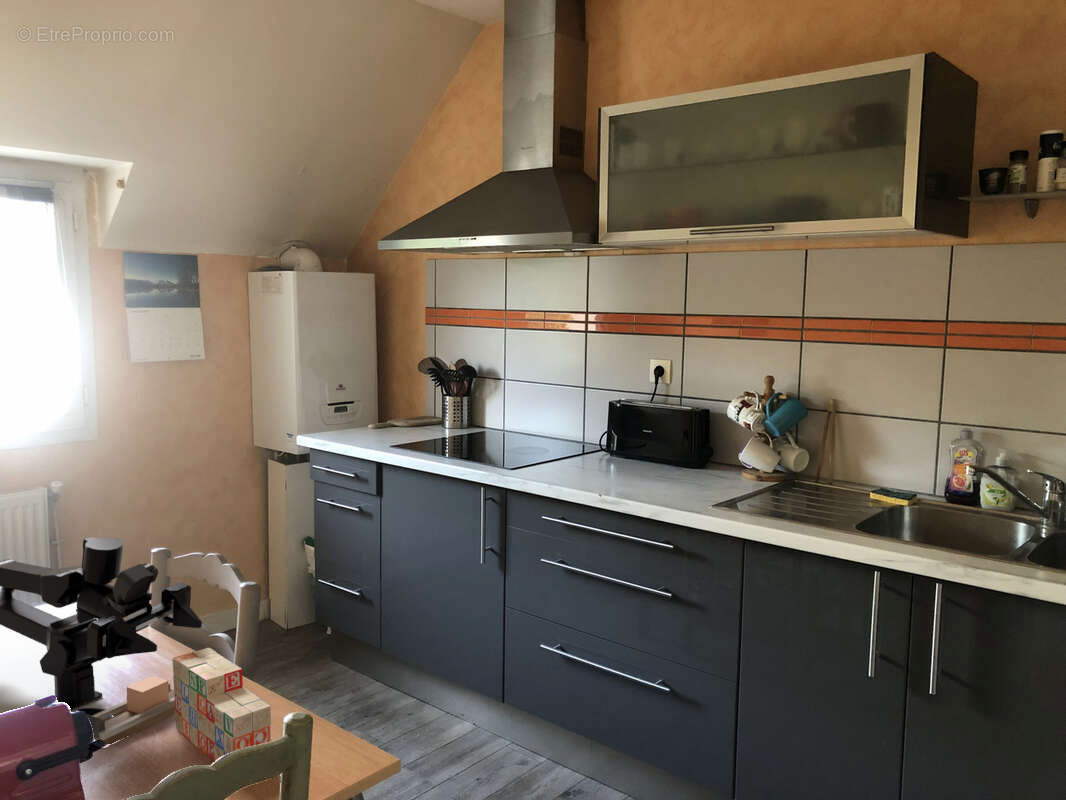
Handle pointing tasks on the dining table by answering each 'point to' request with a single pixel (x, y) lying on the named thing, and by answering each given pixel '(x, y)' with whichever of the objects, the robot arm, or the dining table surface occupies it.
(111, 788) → the dining table surface
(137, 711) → the block
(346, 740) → the dining table surface
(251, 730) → the stack of blocks
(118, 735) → the track
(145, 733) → the dining table surface
